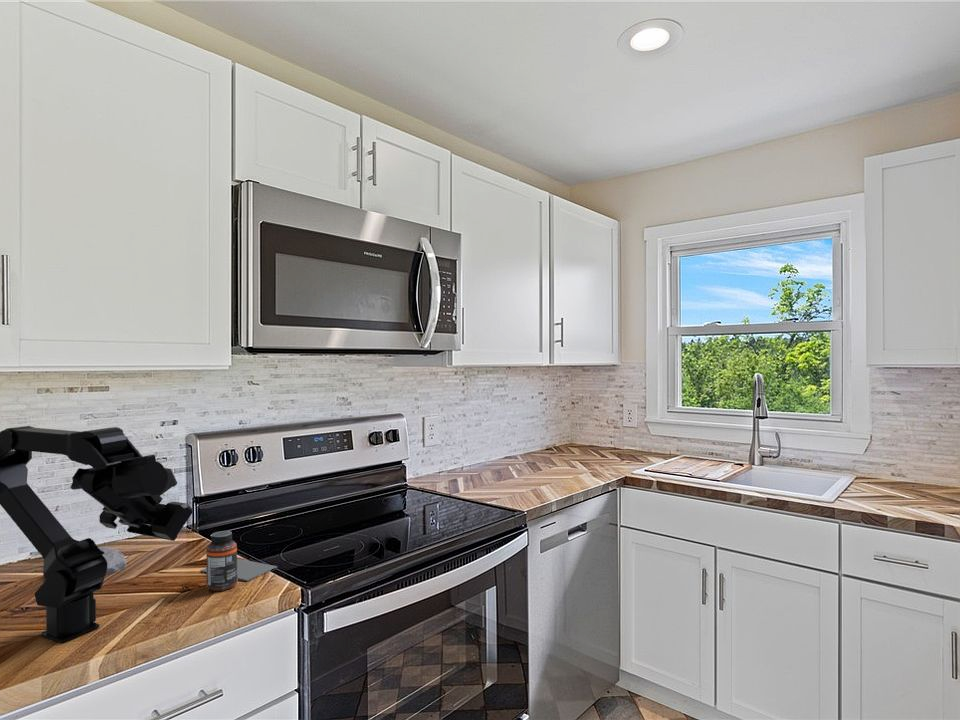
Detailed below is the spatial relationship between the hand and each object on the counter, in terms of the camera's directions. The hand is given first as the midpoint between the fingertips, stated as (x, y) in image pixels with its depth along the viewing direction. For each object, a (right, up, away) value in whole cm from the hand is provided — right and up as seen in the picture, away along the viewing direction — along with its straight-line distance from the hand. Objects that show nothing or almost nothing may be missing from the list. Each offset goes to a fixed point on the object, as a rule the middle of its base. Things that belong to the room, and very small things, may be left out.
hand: (173, 538), depth 114 cm
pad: (+4, -13, +20) cm, 25 cm away
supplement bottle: (+5, -14, +11) cm, 18 cm away
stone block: (-28, -14, +19) cm, 36 cm away
